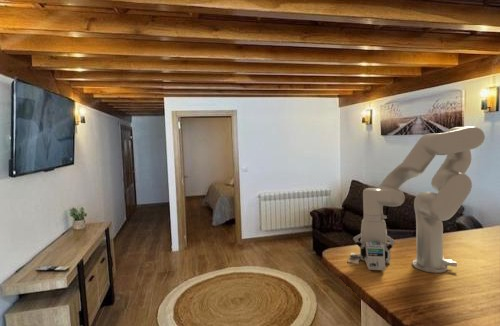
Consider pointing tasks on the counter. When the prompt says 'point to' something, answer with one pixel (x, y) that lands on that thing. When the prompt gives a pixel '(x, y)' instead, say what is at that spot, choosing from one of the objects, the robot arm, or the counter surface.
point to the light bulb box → (375, 255)
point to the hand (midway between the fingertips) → (374, 258)
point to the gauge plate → (364, 258)
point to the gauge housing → (356, 260)
